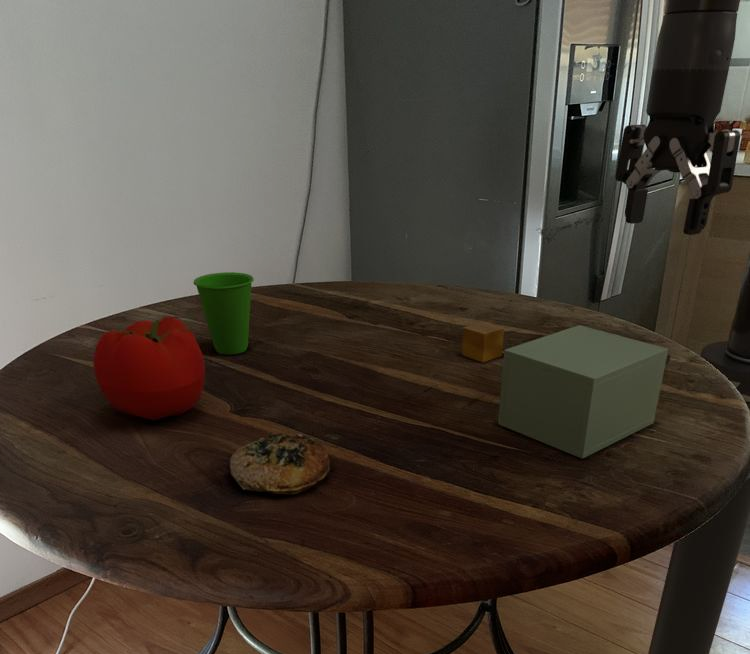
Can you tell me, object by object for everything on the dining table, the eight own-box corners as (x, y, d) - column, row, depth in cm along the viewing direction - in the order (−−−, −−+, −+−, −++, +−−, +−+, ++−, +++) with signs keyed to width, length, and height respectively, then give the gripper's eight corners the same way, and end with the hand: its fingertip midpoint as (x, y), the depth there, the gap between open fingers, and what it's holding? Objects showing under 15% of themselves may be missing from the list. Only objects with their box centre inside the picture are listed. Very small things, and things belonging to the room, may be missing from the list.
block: (480, 349, 116) (482, 321, 114) (502, 356, 113) (504, 327, 111) (461, 355, 113) (463, 327, 111) (482, 362, 110) (484, 334, 108)
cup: (270, 350, 116) (264, 279, 111) (219, 363, 111) (210, 290, 106) (242, 336, 122) (235, 269, 117) (192, 348, 118) (182, 278, 112)
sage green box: (570, 394, 99) (579, 324, 94) (653, 423, 91) (668, 348, 86) (497, 424, 91) (503, 349, 86) (582, 459, 83) (594, 378, 78)
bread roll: (334, 448, 85) (330, 411, 82) (327, 508, 76) (323, 469, 73) (240, 451, 86) (232, 414, 83) (222, 511, 77) (213, 473, 74)
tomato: (152, 442, 88) (135, 347, 82) (82, 414, 95) (62, 325, 89) (234, 406, 97) (224, 318, 91) (164, 383, 104) (151, 301, 98)
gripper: (775, 64, 73) (736, 235, 81) (662, 66, 84) (638, 216, 92) (724, 64, 70) (689, 242, 78) (614, 66, 81) (593, 222, 89)
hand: (661, 228), depth 85 cm, fingers open, 8 cm apart
